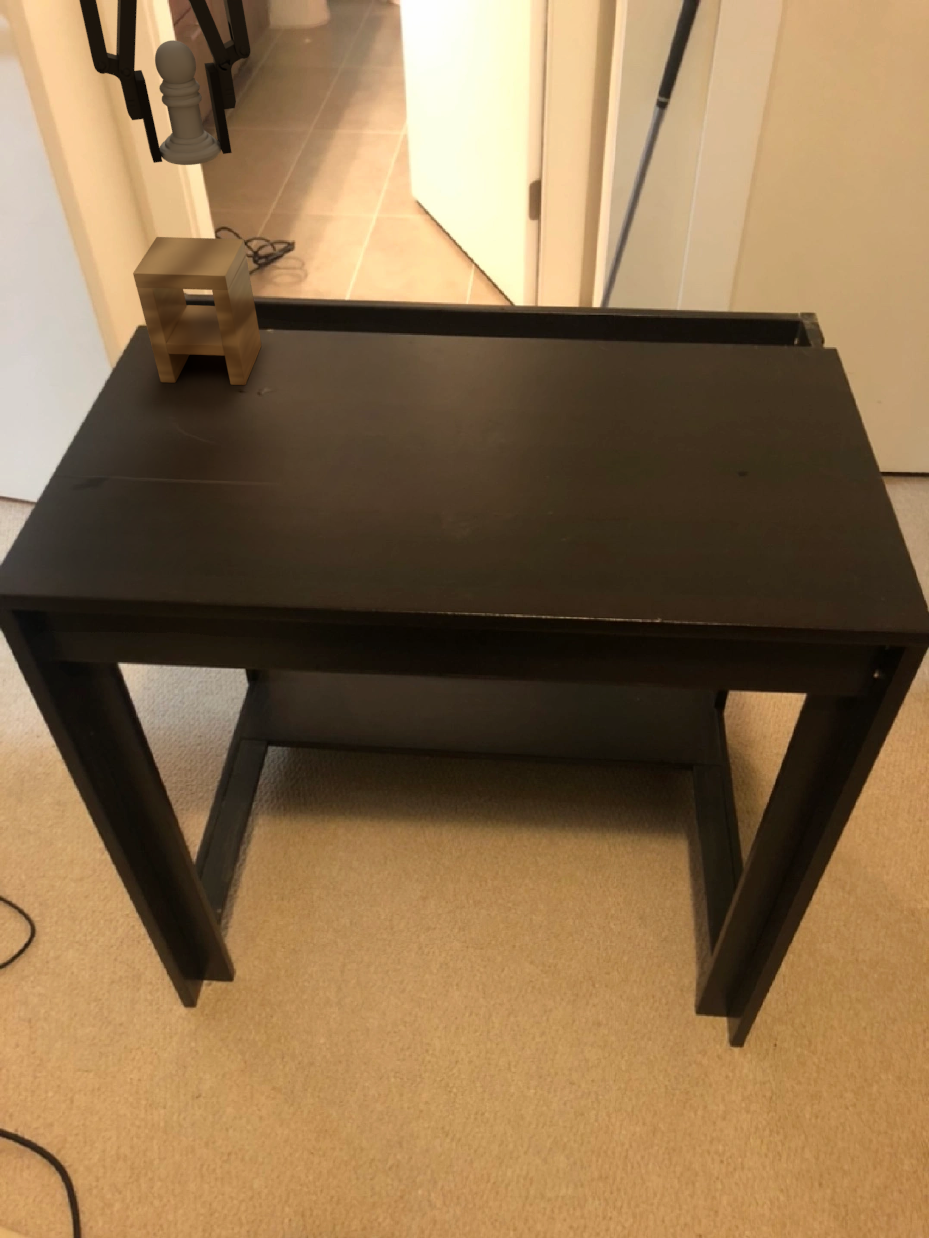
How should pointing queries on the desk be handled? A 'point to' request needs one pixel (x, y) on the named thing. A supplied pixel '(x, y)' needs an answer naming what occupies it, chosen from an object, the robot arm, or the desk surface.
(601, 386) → the desk surface
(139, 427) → the desk surface
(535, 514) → the desk surface
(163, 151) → the chess piece
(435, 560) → the desk surface
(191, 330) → the shelf
